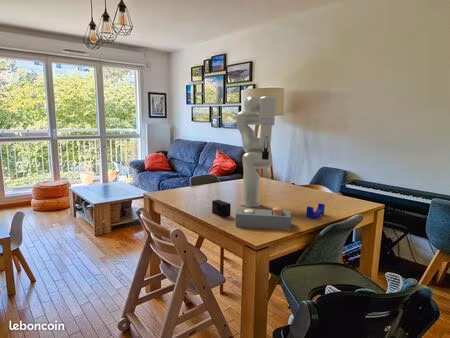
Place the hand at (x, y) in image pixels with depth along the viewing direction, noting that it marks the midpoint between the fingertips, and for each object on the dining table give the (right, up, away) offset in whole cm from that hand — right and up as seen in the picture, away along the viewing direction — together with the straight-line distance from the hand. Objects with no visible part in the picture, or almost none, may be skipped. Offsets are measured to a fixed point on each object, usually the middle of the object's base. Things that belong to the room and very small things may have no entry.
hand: (265, 159), depth 151 cm
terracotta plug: (+5, -30, -4) cm, 31 cm away
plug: (-9, -31, -2) cm, 32 cm away
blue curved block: (+29, -31, +12) cm, 44 cm away
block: (-2, -32, -3) cm, 32 cm away
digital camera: (-23, -30, +11) cm, 39 cm away
